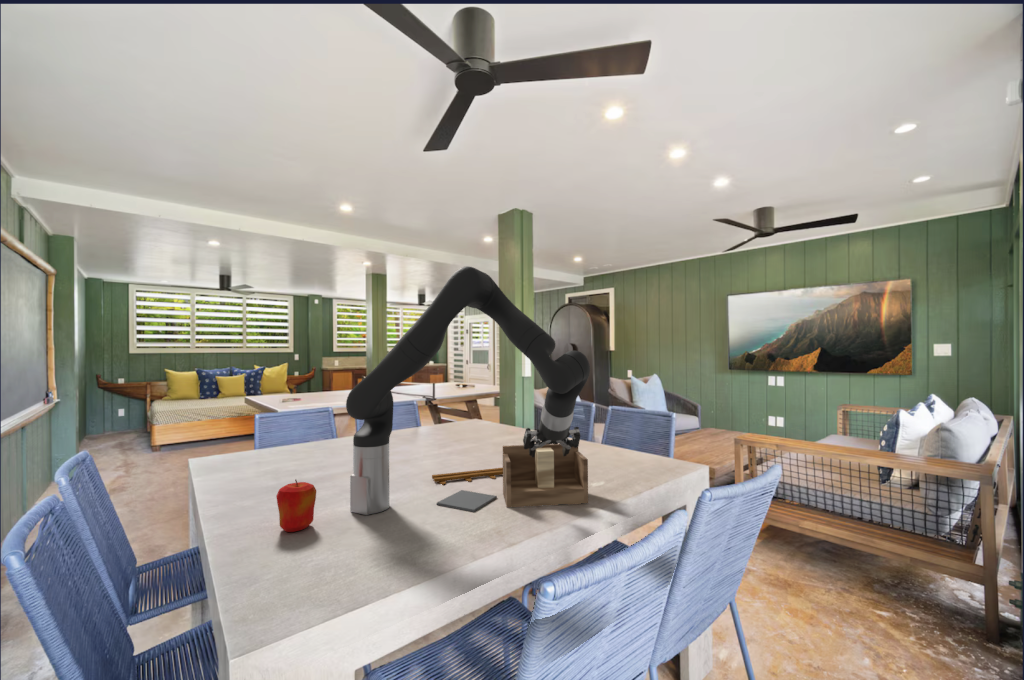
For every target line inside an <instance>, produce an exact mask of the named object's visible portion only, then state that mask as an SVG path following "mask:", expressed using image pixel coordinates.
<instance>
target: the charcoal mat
mask: <svg viewBox="0 0 1024 680" xmlns="http://www.w3.org/2000/svg"><path fill="white" fill-rule="evenodd" d="M495 499H498V498H497V495H494V494H493V495H492V494H487V493H481V492H476V491H469V490H463V489H461V490H458V491H457V492H455V493H453V494H451V495H449V496H447V497H445V498H443V499H441V500H439V501H437V502H436V506H440V505H441V506H442V507H445V506H446V507H447V508H452V509H456V510H460V511H461V510H462V511H466V512H467V511H468V512H472V513H474V512H476V511H478V510H480V509H481V508H483V507H485V506H486V505H488V504H489V503H491V502H493V501H494V500H495ZM484 505H485V506H484Z"/></svg>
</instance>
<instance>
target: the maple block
mask: <svg viewBox="0 0 1024 680" xmlns="http://www.w3.org/2000/svg"><path fill="white" fill-rule="evenodd" d="M535 483H536V485H537V487H538V488H554V451H553V450H552V449H551V448H537V449H536V452H535Z"/></svg>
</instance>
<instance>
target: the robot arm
mask: <svg viewBox="0 0 1024 680" xmlns="http://www.w3.org/2000/svg"><path fill="white" fill-rule="evenodd" d="M466 307H469V308H472V309H476V310H478V311H480V312H482V313H484V314H485V315H486V316H488V317H490V318H491V319H492V320H493V321H494V322H495V323H496V324H497V325H498V326H499V327H500V328H501V330H502V332H503V333H504V334H505V336H506V337H507V338H508V340H509V341H510V342H511V343H512V345H514V347H515V348H517V349H518V350H519V351H520V353H522V354H523V355H524V356H525V357H526V358H527V359H529V360H530V362H531V364H533V367H534V368H535V370H536V371H537V373H538V374H539V375H540V378H541V379H542V381H543V383H544V384H545V386H546V387H547V391H546V393H545V398H544V403H543V405H542V409H541V413H540V420H539V425H538V428H537V429H536V430H531V428H530V427H527V428H525V430H524V434H523V435H524V436H523V438H522V442H523V445H524V449H528V448H529V455H530V456H532V457H535V452H536V449H537V448H538V447H539V448H541V447H543V446H544V445H547V444H560V445H562V446H563V448H562V452H563V456H566V455H567V454H569V451H570V449H571V447H574V448H577V447H578V448H579V447H580V446H579V445H580V440H581V432H580V428H579V426H575V427H574V428H573V429H571V425H572V422H573V419H574V414H575V413H574V410H575V406H576V403H577V398H578V396H579V395H580V394H581V392H582V390H583V389H584V387H585V385H586V384H587V381H588V379H589V377H590V371H591V366H590V362H589V359H588V358H587V356H586V355H585V354H584V353H583V352H581V351H579V350H568V351H566V352H565V353H563V354H562V355H561V356H559V357H557V358H556V359H555V360H553V359H552V358H551V355H552V354H553V352H554V351H555V349H556V341H555V340H554V338H553V337H552V336H551V335H550V334H549V333H548V332H547V331H545V330H544V329H543V328H542V327H541V326H539V324H537V323H536V322H535V321H533V319H531V318H530V317H528V315H526V314H525V313H524V311H523V312H522V310H520V309H519V308H518V307H517V306H516V305H515V304H514V303H513V302H512V301H511V300H510V299H509V297H507V295H506V294H505V293H504V292H503V291H502V289H501V288H500V287H499V286H498V285H497V283H496V282H495V281H494V280H493V278H492V277H491V276H490V275H489V274H487V273H486V272H483V271H481V270H479V269H477V268H476V267H472V266H463V267H461V268H459V269H457V270H456V271H454V272H453V274H452V275H450V277H449V278H448V279H447V281H446V282H445V284H444V286H443V287H442V288H441V290H440V291H439V292H438V294H437V295H436V297H435V298H434V300H433V301H432V302H431V303H430V305H429V306H428V307H427V309H426V310H425V311H423V312H422V314H421V315H420V316H419V317H418V319H417V320H416V321H415V322H414V324H412V326H411V327H409V329H407V331H406V332H405V333H404V334H403V335H402V336H401V338H399V340H398V341H397V342H396V343H395V345H394V346H393V347H392V348H391V350H390V351H388V353H387V354H386V355H385V356H384V358H382V360H381V361H380V362H379V363H378V364H377V365H376V367H374V368H373V370H372V371H370V373H368V374H367V375H366V376H365V377H364V378H362V380H360V382H358V383H357V384H356V385H355V386H354V387H353V388H352V389H351V390H350V392H349V394H348V396H347V397H346V401H345V402H346V403H345V408H346V409H345V410H346V411H347V414H348V415H349V416H350V417H351V418H352V419H354V420H358V421H359V420H360V421H363V424H362V425H361V427H360V428H359V429H358V430H357V431H356V432H355V433H354V434H353V438H352V439H353V440H352V441H353V444H352V446H353V457H352V459H353V460H352V461H353V467H352V468H353V469H352V471H353V474H351V475H350V477H349V478H350V479H349V480H350V481H349V482H350V485H349V486H350V487H349V489H350V490H349V493H350V494H349V495H350V496H349V497H350V498H349V501H350V506H349V508H350V511H349V512H351V513H355V514H360V515H363V516H369V515H371V514H377V513H378V514H379V513H381V512H383V511H386V510H388V509H389V508H390V437H391V434H392V432H393V422H394V397H393V393H392V390H393V389H395V387H397V386H398V385H400V384H401V383H403V382H404V381H406V380H407V379H409V378H410V377H413V376H414V375H415V374H417V373H418V372H419V371H421V370H423V368H424V367H426V366H427V364H428V363H429V362H430V361H431V360H432V359H433V358H434V357H435V356H436V354H437V353H438V352H440V349H441V348H442V346H443V343H444V340H445V338H446V337H445V336H446V333H447V330H448V327H449V326H450V324H451V323H452V322H453V320H454V319H455V318H456V317H457V316H458V314H460V313H461V312H462V311H463V310H464V309H465V308H466ZM570 436H571V439H570V438H569V437H570Z"/></svg>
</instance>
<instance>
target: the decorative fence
mask: <svg viewBox="0 0 1024 680" xmlns="http://www.w3.org/2000/svg"><path fill="white" fill-rule="evenodd" d="M500 475H501V476H503V467H495V468H485V469H479V470H469V471H468V470H467V471H458V472H449V473H447V472H446V473H440V474H432V475H431V478H432V480H433V481H434V483H439V485H441V484H442V485H441V486H445V485H446V484H447V482H449V481H455V480H464V481H466V482H467V481H468V482H467V483H472V478H481V477H488V478H489V477H490V478H489V479H491V480H496V476H500ZM444 484H445V485H444Z"/></svg>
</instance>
